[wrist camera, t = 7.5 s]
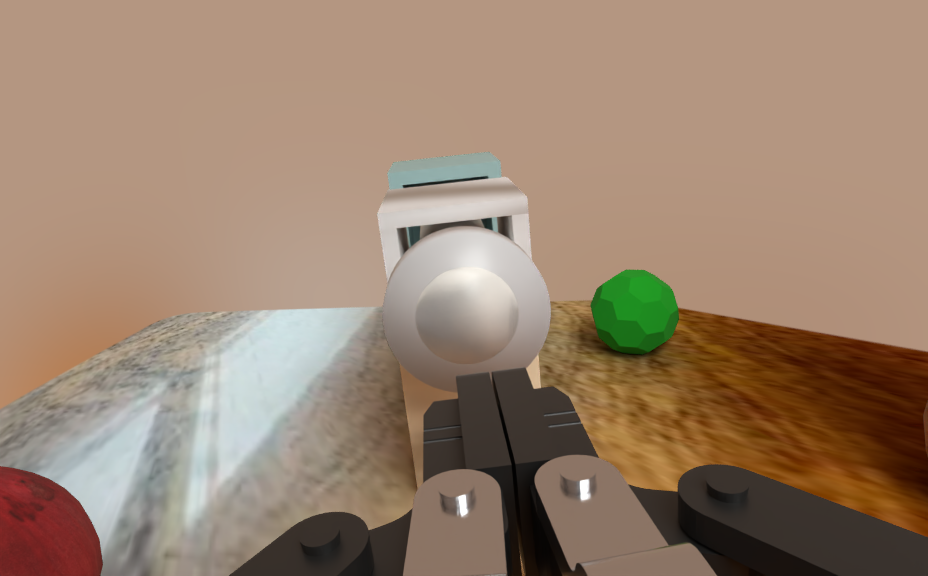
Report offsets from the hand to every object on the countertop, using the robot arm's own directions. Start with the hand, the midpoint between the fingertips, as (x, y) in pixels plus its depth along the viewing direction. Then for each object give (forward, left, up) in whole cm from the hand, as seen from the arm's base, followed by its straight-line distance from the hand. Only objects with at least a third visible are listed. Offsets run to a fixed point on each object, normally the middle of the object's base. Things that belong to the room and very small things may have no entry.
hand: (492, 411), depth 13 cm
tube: (+10, +12, -3) cm, 15 cm away
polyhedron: (+22, +10, -9) cm, 26 cm away
